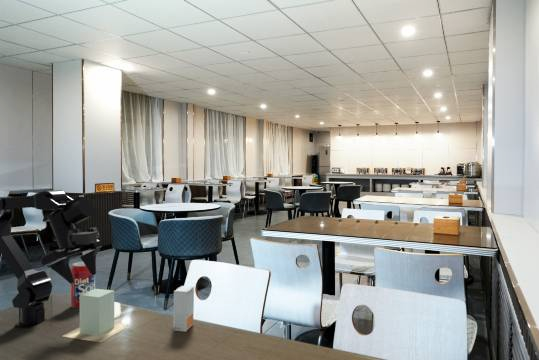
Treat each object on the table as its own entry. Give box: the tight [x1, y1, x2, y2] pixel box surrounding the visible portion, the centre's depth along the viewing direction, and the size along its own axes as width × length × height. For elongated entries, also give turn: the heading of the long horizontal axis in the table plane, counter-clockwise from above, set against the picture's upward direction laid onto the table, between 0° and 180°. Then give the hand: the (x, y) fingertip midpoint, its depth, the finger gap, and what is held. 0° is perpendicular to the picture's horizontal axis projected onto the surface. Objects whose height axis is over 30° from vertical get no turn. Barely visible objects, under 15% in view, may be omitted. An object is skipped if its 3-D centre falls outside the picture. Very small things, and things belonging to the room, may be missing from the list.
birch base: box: [61, 322, 130, 343], centre depth 118 cm, size 13×13×6 cm
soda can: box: [69, 261, 96, 309], centre depth 141 cm, size 8×8×15 cm
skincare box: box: [172, 285, 195, 332], centre depth 123 cm, size 6×4×12 cm
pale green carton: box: [79, 288, 115, 336], centre depth 118 cm, size 7×7×11 cm
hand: (83, 278), depth 119 cm, fingers open, 9 cm apart
